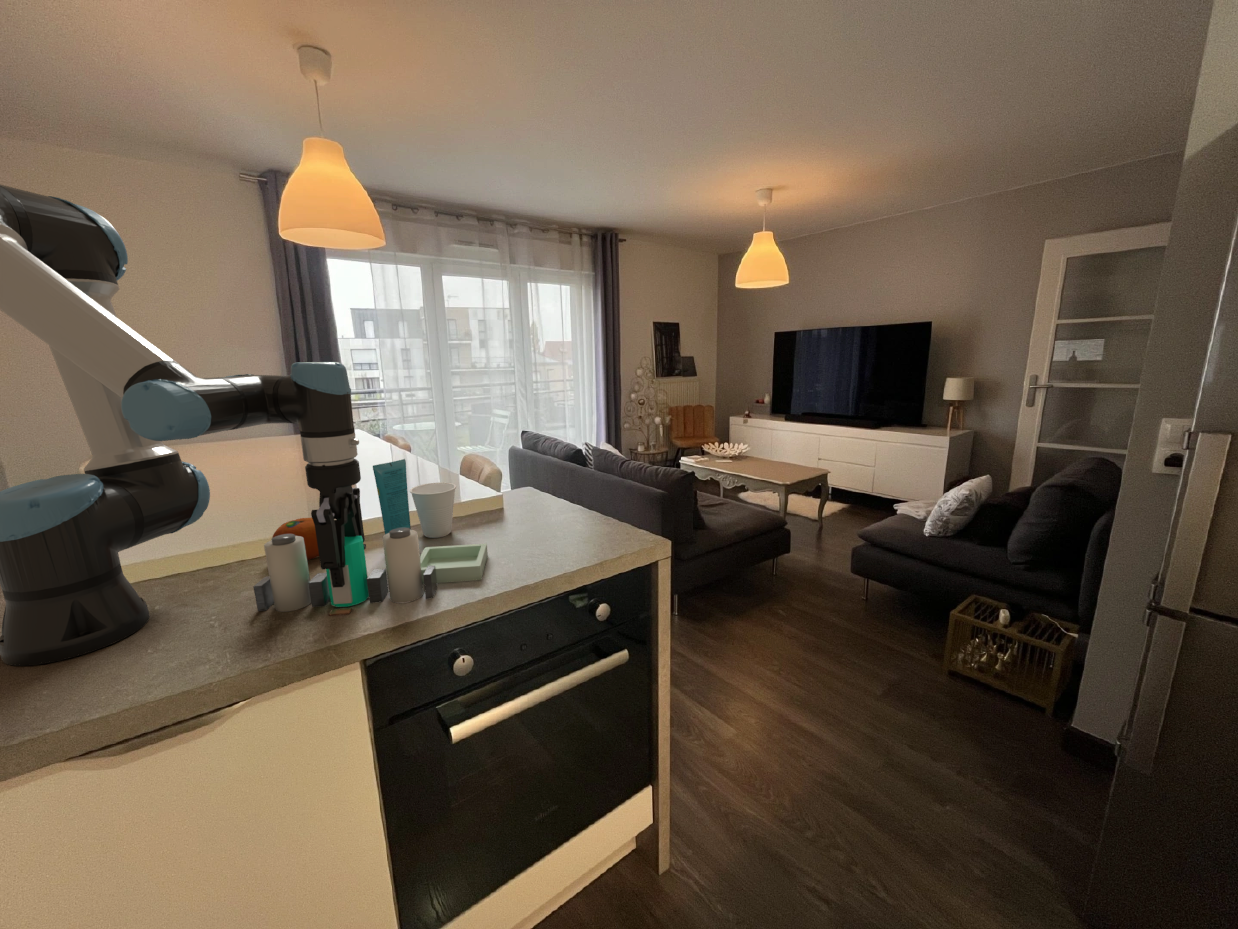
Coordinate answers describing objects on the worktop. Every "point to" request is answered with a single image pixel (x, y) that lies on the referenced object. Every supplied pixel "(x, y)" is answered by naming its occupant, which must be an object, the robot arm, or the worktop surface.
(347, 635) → the worktop surface
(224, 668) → the worktop surface
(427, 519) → the cup
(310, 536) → the fruit
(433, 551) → the tray
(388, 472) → the tube
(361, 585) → the candle
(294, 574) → the cylinder
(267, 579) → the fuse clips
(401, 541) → the fuse right
